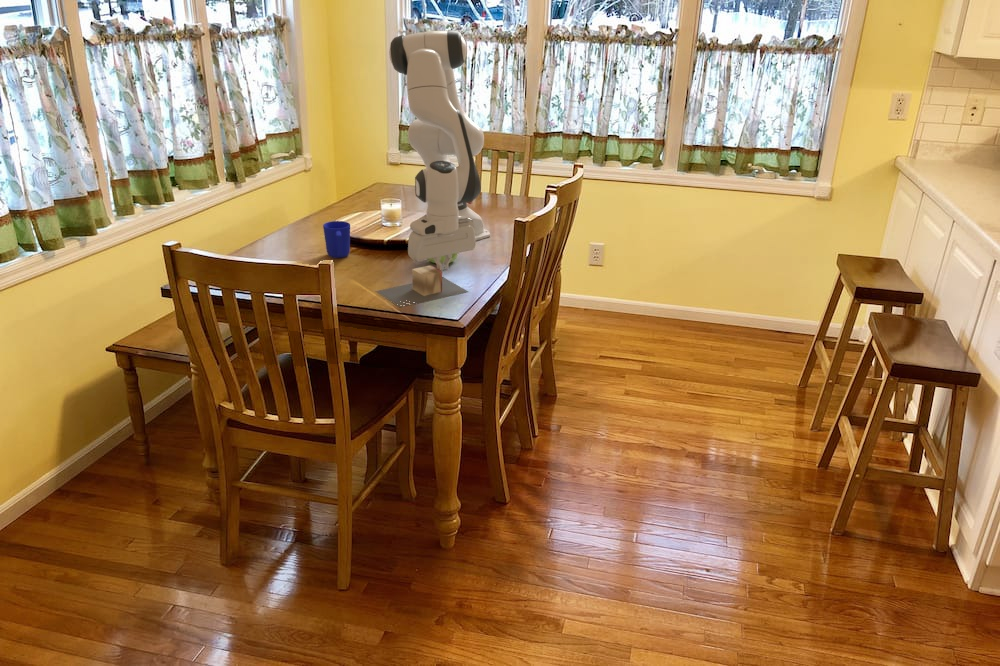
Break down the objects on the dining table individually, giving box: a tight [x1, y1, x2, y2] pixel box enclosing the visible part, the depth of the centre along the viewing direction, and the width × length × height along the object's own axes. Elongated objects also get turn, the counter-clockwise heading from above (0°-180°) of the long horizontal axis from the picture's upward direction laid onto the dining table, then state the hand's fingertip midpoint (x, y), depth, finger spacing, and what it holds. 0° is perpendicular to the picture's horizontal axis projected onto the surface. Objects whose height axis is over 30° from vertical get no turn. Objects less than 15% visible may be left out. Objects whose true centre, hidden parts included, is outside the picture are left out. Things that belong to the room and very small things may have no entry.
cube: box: [411, 265, 443, 296], centre depth 224 cm, size 6×6×6 cm
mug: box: [322, 220, 351, 259], centre depth 247 cm, size 8×12×10 cm
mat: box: [375, 276, 469, 309], centre depth 224 cm, size 22×14×1 cm, turn 125°
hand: (442, 269), depth 226 cm, fingers closed
